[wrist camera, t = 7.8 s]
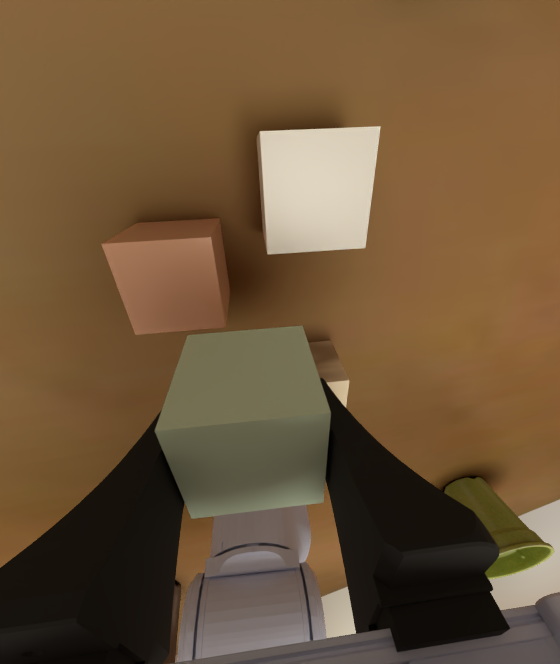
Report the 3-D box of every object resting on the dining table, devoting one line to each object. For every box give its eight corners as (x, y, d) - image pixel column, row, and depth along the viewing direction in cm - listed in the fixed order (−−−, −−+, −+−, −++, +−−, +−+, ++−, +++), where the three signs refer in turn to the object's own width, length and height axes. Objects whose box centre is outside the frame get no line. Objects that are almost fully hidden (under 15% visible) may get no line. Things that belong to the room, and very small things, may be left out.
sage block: (302, 325, 12) (331, 413, 8) (301, 405, 15) (323, 502, 11) (187, 335, 12) (154, 430, 8) (208, 414, 15) (191, 518, 10)
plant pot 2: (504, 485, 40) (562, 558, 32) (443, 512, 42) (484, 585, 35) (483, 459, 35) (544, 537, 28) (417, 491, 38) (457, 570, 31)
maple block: (330, 339, 23) (349, 380, 19) (327, 384, 26) (343, 428, 22) (271, 345, 23) (276, 387, 19) (274, 389, 26) (279, 435, 21)
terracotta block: (219, 218, 17) (210, 237, 13) (230, 291, 20) (225, 327, 16) (137, 222, 17) (101, 244, 13) (159, 296, 20) (135, 334, 15)
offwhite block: (344, 134, 16) (380, 126, 11) (338, 227, 18) (365, 248, 14) (256, 138, 15) (259, 131, 11) (262, 231, 18) (267, 254, 14)
